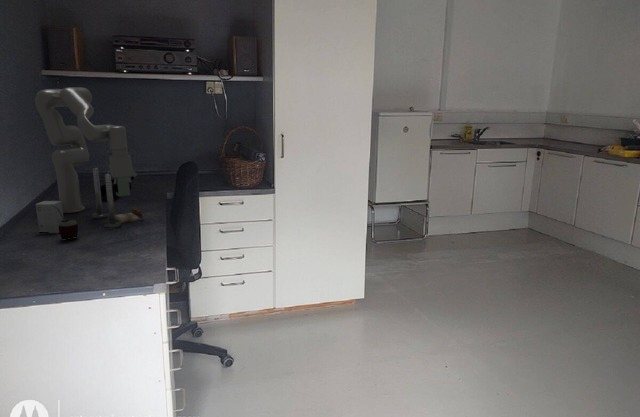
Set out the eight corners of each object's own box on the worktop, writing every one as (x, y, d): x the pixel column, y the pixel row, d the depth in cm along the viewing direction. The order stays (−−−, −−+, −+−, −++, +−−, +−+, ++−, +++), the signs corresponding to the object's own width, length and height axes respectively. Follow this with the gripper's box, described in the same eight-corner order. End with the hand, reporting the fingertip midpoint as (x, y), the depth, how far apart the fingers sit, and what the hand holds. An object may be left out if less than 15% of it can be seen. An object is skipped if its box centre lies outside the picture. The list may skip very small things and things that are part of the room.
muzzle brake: (98, 202, 263) (96, 183, 260) (106, 191, 289) (104, 174, 286) (117, 201, 265) (115, 182, 263) (123, 190, 291) (121, 173, 289)
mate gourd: (81, 239, 200) (77, 204, 196) (61, 243, 195) (56, 207, 191) (75, 235, 205) (71, 201, 201) (55, 239, 200) (50, 204, 196)
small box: (65, 229, 213) (61, 200, 210) (57, 233, 207) (54, 204, 204) (47, 229, 213) (43, 200, 210) (38, 233, 207) (34, 204, 204)
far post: (94, 220, 228) (89, 170, 222) (90, 216, 234) (85, 167, 228) (110, 217, 233) (105, 168, 227) (105, 214, 238) (101, 166, 232)
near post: (106, 229, 213) (101, 176, 207) (102, 226, 218) (97, 174, 213) (123, 227, 217) (118, 175, 212) (118, 223, 223) (113, 172, 217)
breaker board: (121, 223, 224) (120, 215, 223) (113, 217, 233) (112, 209, 232) (142, 219, 230) (142, 211, 229) (134, 214, 239) (133, 206, 238)
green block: (119, 196, 224) (117, 177, 222) (116, 194, 228) (114, 175, 226) (130, 195, 227) (128, 176, 225) (126, 193, 231) (125, 174, 229)
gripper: (102, 155, 215) (106, 194, 219) (140, 152, 225) (143, 190, 230) (97, 153, 220) (101, 192, 225) (135, 150, 231) (138, 187, 235)
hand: (122, 190), depth 227 cm, fingers closed on green block, 5 cm apart
